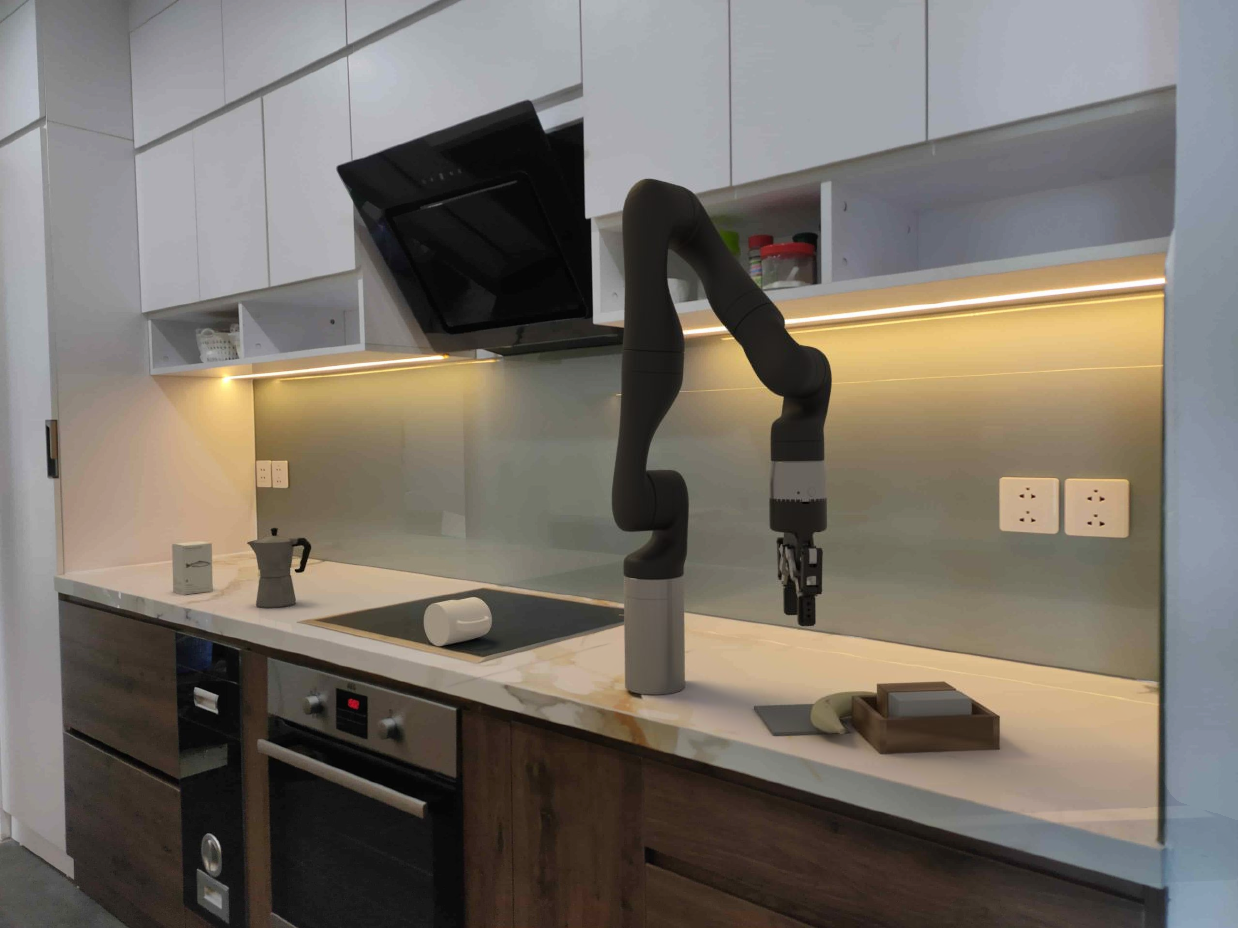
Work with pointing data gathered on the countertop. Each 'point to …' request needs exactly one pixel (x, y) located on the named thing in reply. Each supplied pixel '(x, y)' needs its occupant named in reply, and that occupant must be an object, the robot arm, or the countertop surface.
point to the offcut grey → (929, 704)
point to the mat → (790, 719)
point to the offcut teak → (905, 687)
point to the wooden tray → (925, 729)
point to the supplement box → (192, 567)
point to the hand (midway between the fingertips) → (799, 619)
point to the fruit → (834, 711)
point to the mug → (457, 621)
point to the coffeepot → (277, 568)
